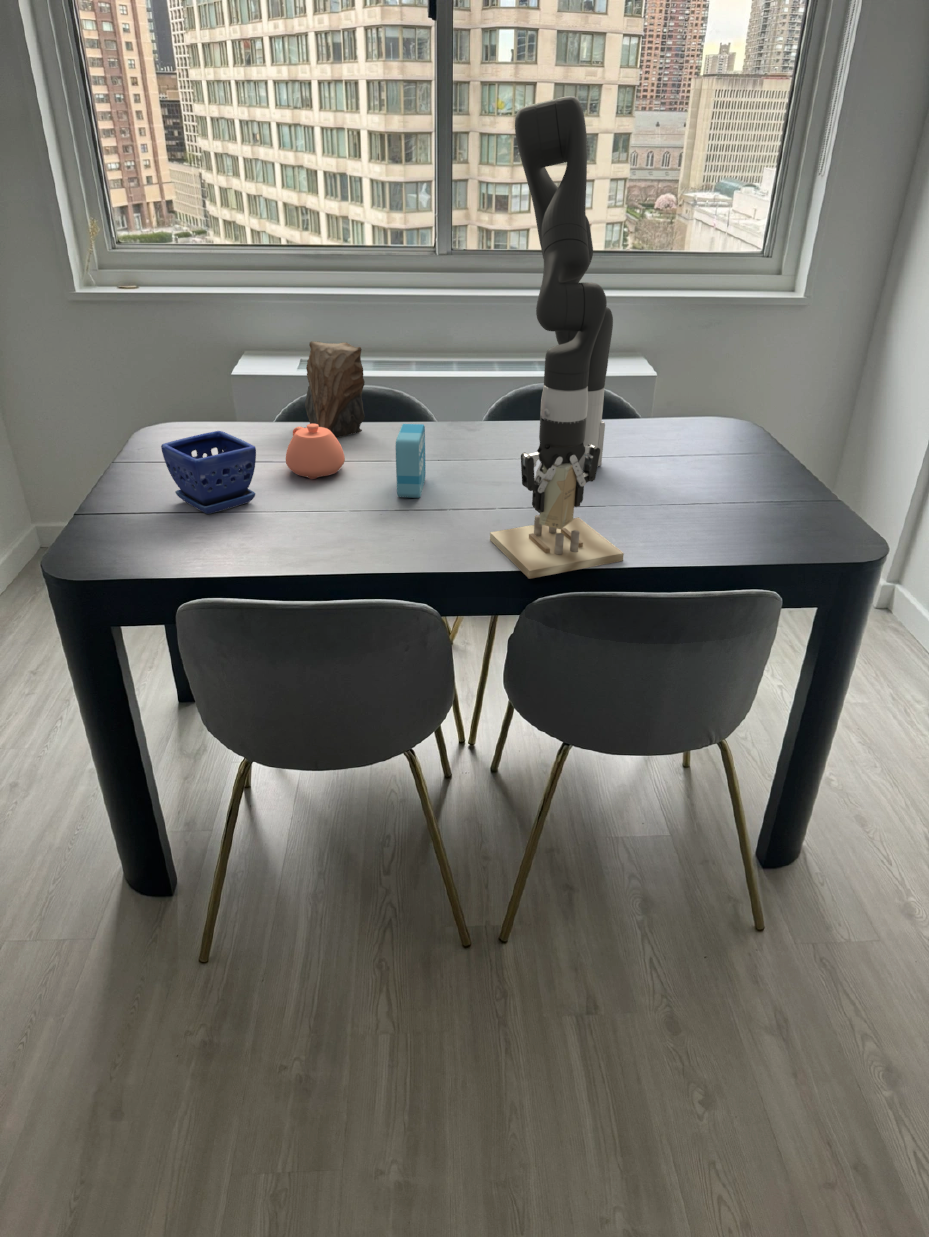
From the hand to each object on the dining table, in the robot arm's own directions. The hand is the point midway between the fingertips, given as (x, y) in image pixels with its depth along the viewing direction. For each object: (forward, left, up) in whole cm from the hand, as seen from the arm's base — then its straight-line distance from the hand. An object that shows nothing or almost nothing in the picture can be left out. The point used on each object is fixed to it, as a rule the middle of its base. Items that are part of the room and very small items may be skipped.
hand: (557, 507), depth 151 cm
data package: (+14, -36, -8) cm, 39 cm away
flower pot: (+52, -43, -8) cm, 68 cm away
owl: (+20, -76, -8) cm, 79 cm away
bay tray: (0, 0, -8) cm, 8 cm away
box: (0, 0, -3) cm, 3 cm away
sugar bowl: (+30, -53, -8) cm, 61 cm away
